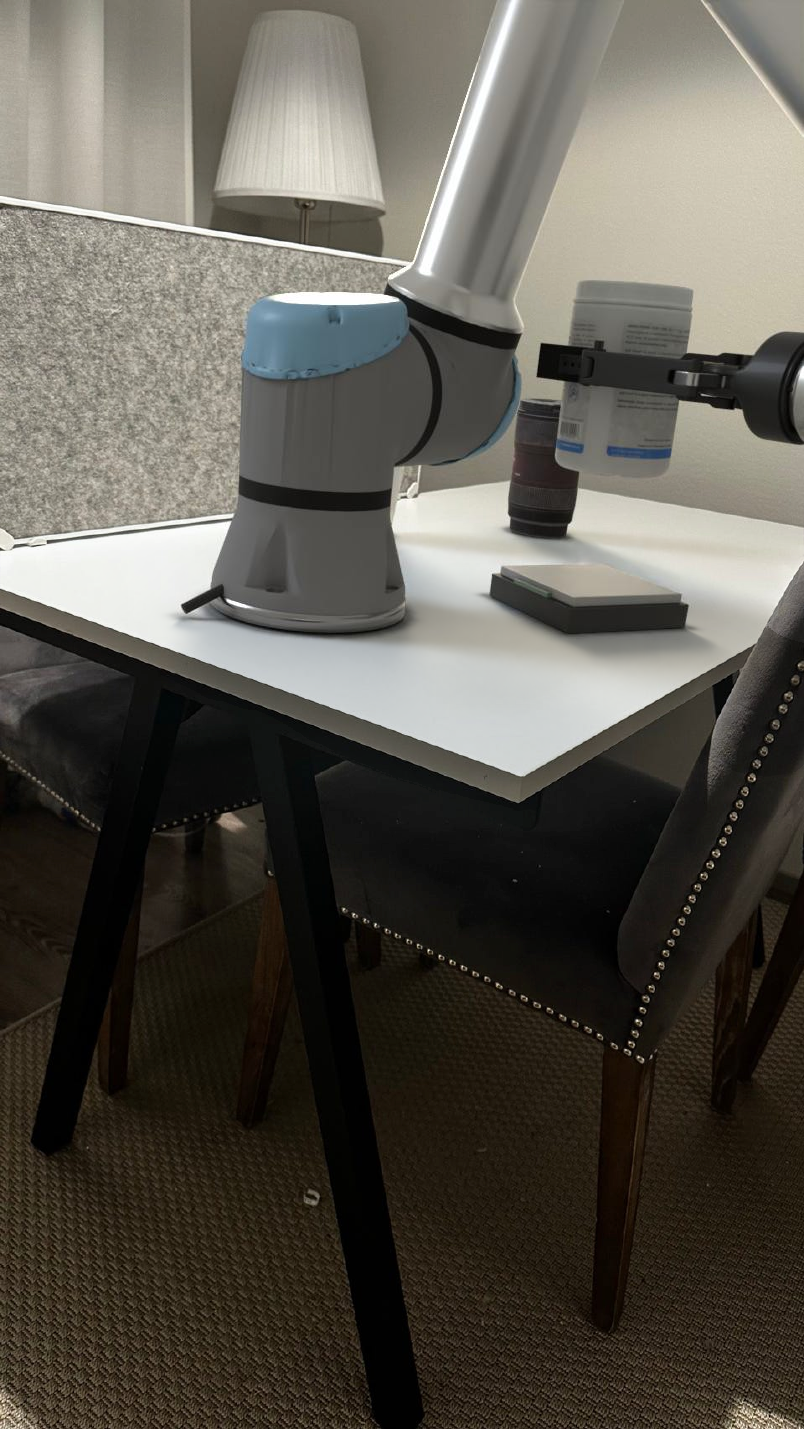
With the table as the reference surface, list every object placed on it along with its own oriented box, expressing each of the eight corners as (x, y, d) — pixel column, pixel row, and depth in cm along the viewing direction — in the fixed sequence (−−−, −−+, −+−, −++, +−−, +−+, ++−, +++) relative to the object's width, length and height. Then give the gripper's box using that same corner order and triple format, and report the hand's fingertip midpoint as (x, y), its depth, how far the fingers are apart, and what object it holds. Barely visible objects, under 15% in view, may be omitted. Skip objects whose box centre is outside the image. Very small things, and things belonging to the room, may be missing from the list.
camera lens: (490, 525, 130) (506, 395, 125) (549, 526, 134) (566, 399, 129) (524, 539, 124) (541, 402, 119) (584, 540, 127) (604, 407, 122)
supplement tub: (675, 474, 95) (707, 293, 90) (655, 484, 86) (689, 285, 81) (567, 459, 98) (591, 284, 93) (537, 468, 89) (563, 275, 85)
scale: (567, 633, 86) (572, 599, 85) (489, 595, 96) (493, 564, 95) (685, 627, 91) (691, 595, 91) (599, 592, 101) (603, 562, 100)
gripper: (709, 444, 71) (481, 405, 87) (889, 447, 84) (662, 413, 100) (731, 322, 68) (493, 305, 85) (913, 345, 81) (676, 326, 98)
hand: (584, 363), depth 92 cm, fingers closed on supplement tub, 9 cm apart
